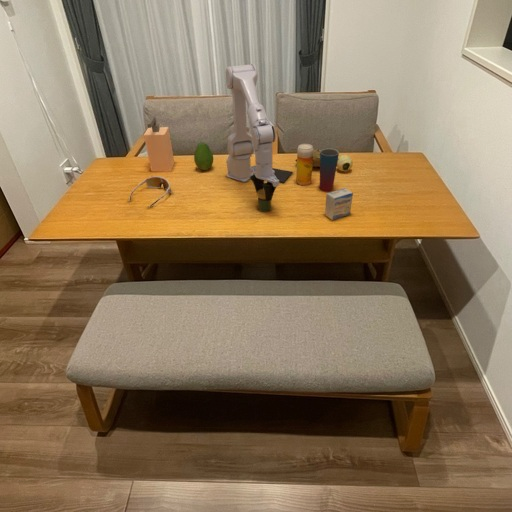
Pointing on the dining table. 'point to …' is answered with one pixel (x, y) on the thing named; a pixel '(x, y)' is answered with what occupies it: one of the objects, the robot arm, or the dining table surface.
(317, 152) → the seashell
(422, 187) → the dining table surface
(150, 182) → the sunglasses
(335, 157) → the cup
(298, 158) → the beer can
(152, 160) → the soap dispenser
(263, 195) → the lid
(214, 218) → the dining table surface
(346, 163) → the cream rounded piece
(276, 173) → the coaster
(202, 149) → the fruit
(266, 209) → the jar
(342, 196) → the medicine box
